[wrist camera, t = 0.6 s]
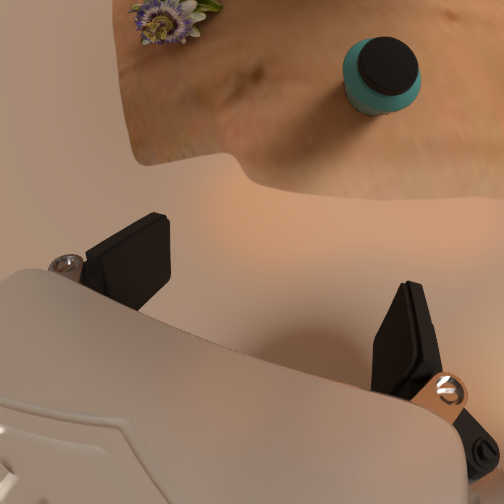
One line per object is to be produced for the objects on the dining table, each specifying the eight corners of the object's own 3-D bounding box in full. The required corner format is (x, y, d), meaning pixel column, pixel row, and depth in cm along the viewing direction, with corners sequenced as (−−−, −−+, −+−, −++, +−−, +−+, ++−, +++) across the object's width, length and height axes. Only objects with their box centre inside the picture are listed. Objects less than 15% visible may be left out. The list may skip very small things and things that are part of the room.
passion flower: (202, 44, 38) (135, 62, 33) (185, -5, 33) (118, 8, 28) (241, 22, 30) (159, 35, 25) (220, -36, 24) (139, -29, 19)
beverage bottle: (335, 81, 31) (315, 41, 14) (378, 61, 28) (401, 4, 11) (361, 125, 32) (370, 128, 15) (404, 105, 29) (456, 91, 12)
